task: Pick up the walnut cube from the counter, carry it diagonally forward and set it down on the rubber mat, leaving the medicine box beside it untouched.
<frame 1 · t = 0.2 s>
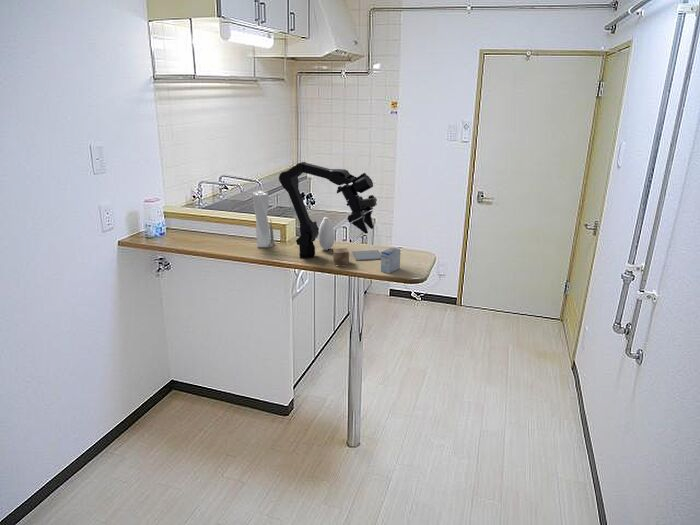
hand: (369, 230, 212), 14 cm above the table, tool tilted 30°, fingers open, 9 cm apart
cube: (341, 263, 217), on the table
medicine box: (390, 270, 208), on the table
skyscraper: (264, 246, 242), on the table
mat: (367, 255, 226), on the table
white elongated ovoid: (326, 249, 236), on the table
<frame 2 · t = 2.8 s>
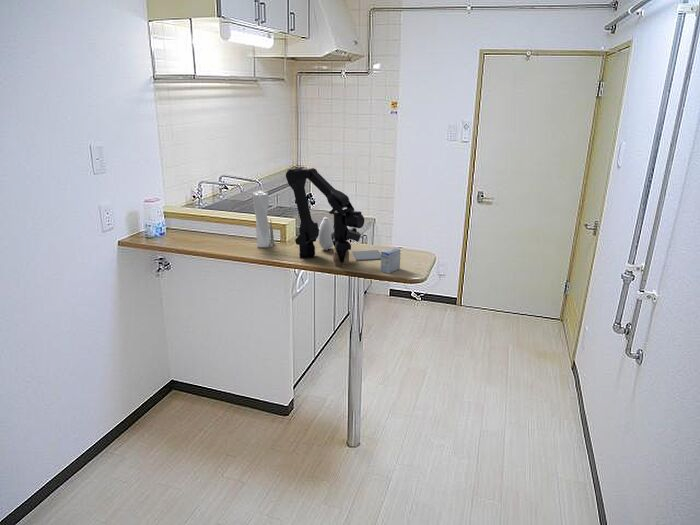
hand: (341, 260, 216), 2 cm above the table, tool pointing down, fingers closed on cube, 6 cm apart
cube: (341, 263, 217), on the table, touching gripper
everything else where it was.
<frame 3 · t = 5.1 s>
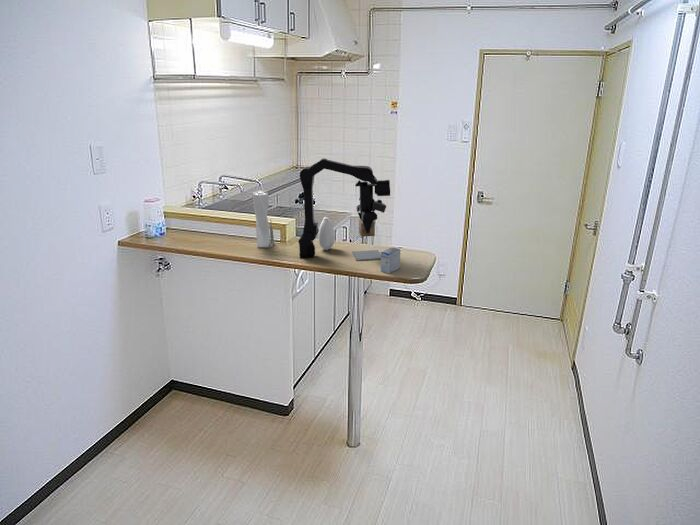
hand: (366, 231, 221), 12 cm above the table, tool pointing down, fingers closed on cube, 6 cm apart
cube: (366, 234, 222), point 10 cm above the table, touching gripper
everything else where it was.
when the fingers open (4 cm above the table, at t = 7.5 s): cube drops 1 cm, resting on mat.
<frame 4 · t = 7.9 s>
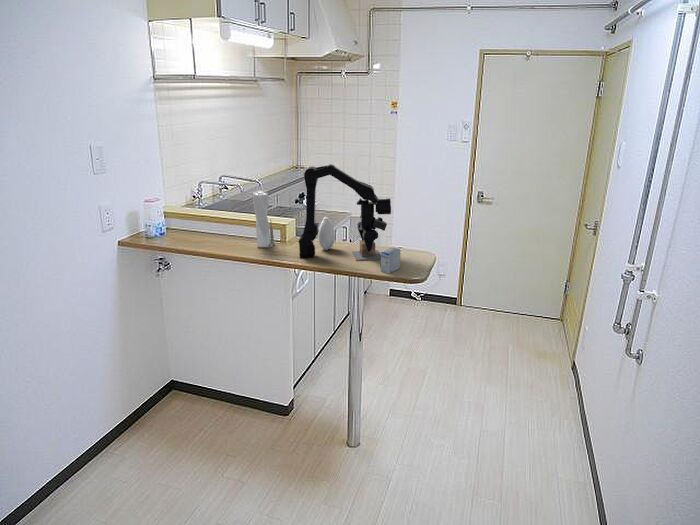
hand: (367, 248, 225), 4 cm above the table, tool pointing down, fingers open, 9 cm apart
cube: (367, 254, 226), point 1 cm above the table, touching mat
everything else where it was.
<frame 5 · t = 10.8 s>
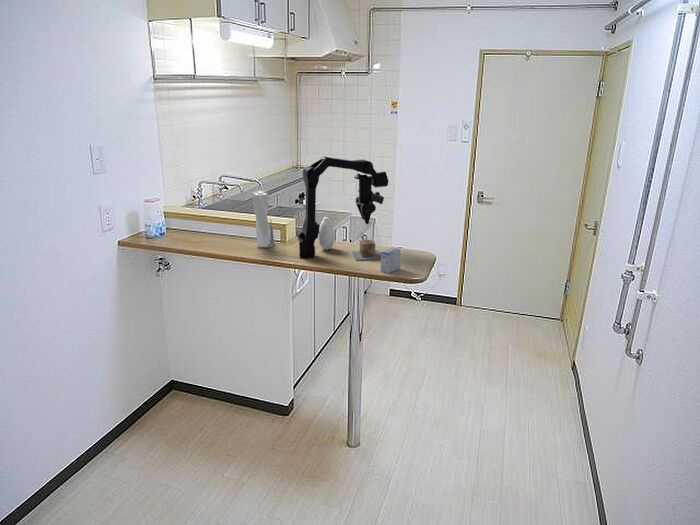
hand: (365, 221, 232), 13 cm above the table, tool pointing down, fingers open, 9 cm apart
nothing on the table moved.
at the end: cube inside the target area on the mat (0.0 cm from its centre), point 0.6 cm above the mat's base; cube tilted 0°; the gripper is holding nothing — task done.
